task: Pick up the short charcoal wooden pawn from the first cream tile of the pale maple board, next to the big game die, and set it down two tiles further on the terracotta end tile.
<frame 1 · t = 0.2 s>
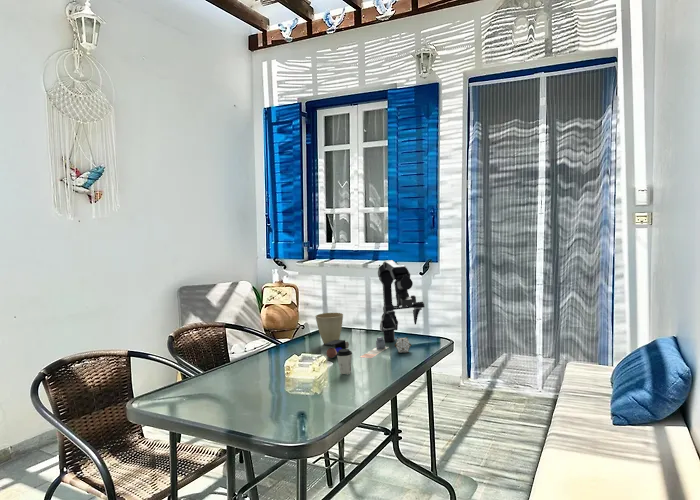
hand: (405, 325, 232), 15 cm above the table, tool pointing down, fingers open, 9 cm apart
figurine character: (337, 355, 248), on the table
coffee cup: (345, 373, 217), on the table
pawn: (380, 348, 252), resting on board
board: (374, 352, 246), on the table
game die: (403, 353, 242), on the table
plant pot: (331, 344, 270), on the table
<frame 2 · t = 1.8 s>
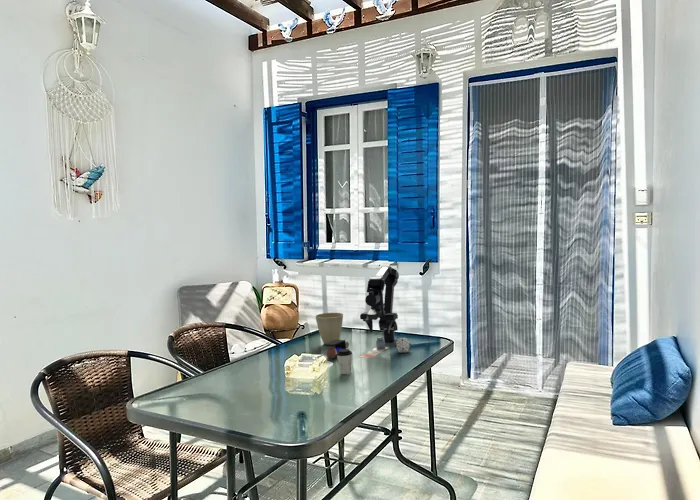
hand: (379, 333, 252), 8 cm above the table, tool pointing down, fingers open, 9 cm apart
nothing on the table moved.
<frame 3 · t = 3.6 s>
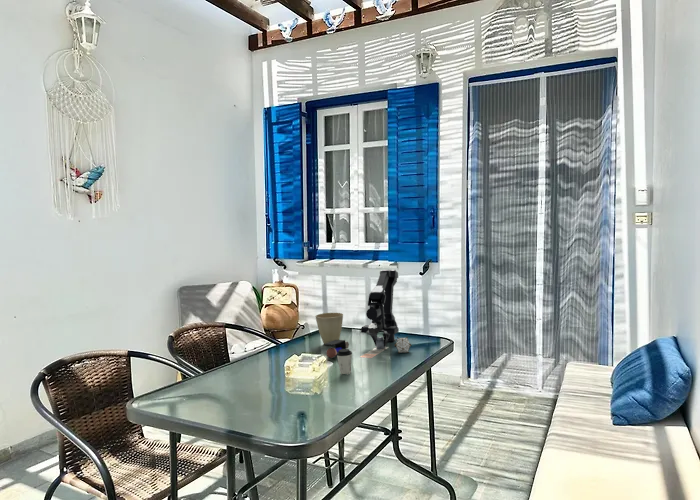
hand: (380, 346, 252), 1 cm above the table, tool pointing down, fingers closed on pawn, 4 cm apart
pawn: (380, 348, 252), resting on board, touching gripper
everything else where it was.
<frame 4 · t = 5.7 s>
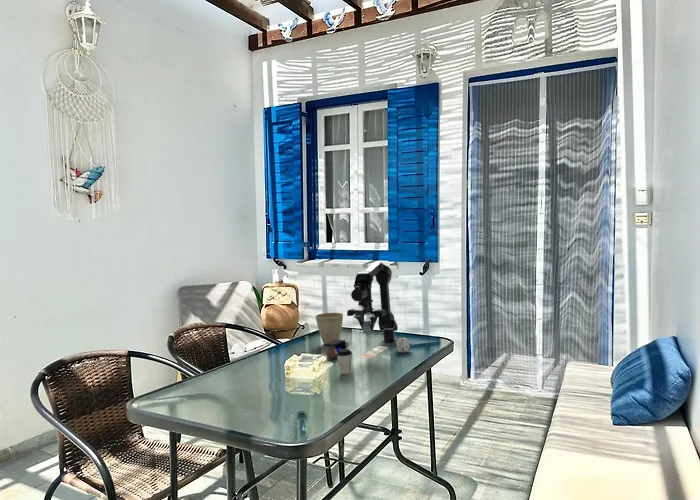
hand: (367, 330, 240), 13 cm above the table, tool pointing down, fingers closed on pawn, 4 cm apart
pawn: (367, 332, 240), point 12 cm above the table, touching gripper
everything else where it was.
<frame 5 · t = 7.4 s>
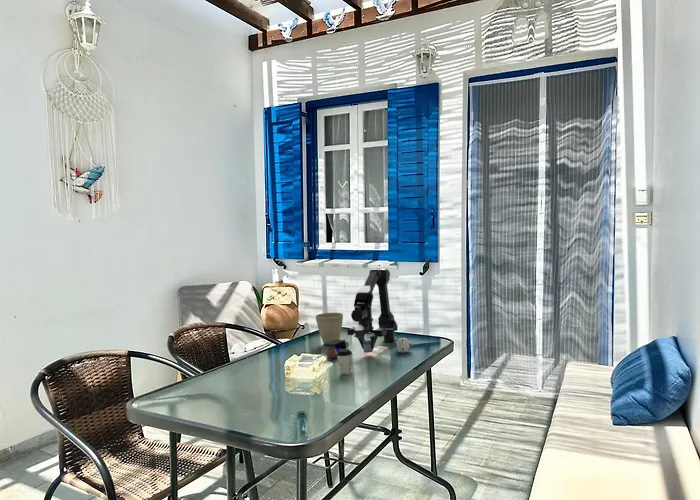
hand: (368, 349, 240), 3 cm above the table, tool pointing down, fingers closed on pawn, 4 cm apart
pawn: (368, 351, 240), point 3 cm above the table, touching gripper
everything else where it was.
when the fingers open (3 cm above the table, at t = 8.3 s): pawn drops 2 cm, resting on board.
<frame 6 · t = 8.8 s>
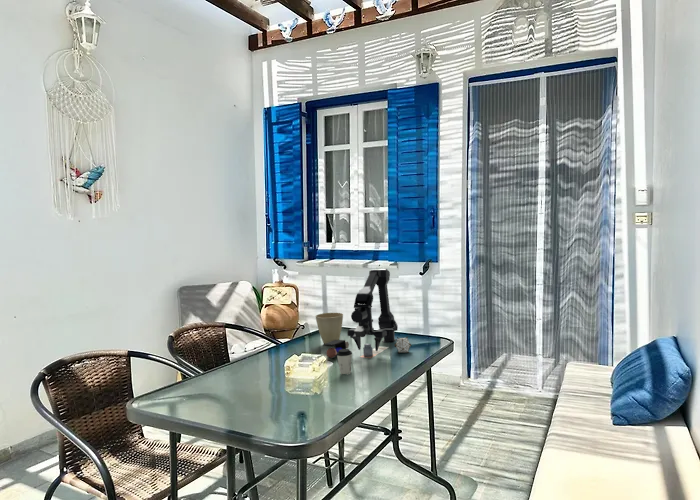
hand: (368, 350, 240), 3 cm above the table, tool pointing down, fingers open, 9 cm apart
pawn: (368, 355, 240), resting on board
everything else where it was.
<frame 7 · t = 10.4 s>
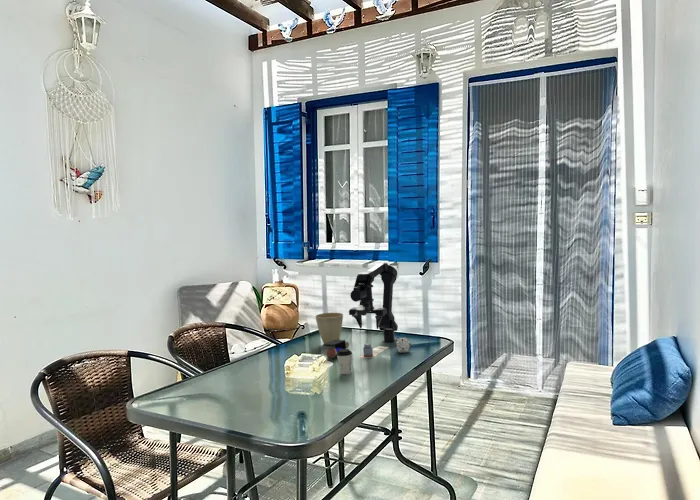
hand: (369, 328, 249), 11 cm above the table, tool pointing down, fingers open, 9 cm apart
nothing on the table moved.
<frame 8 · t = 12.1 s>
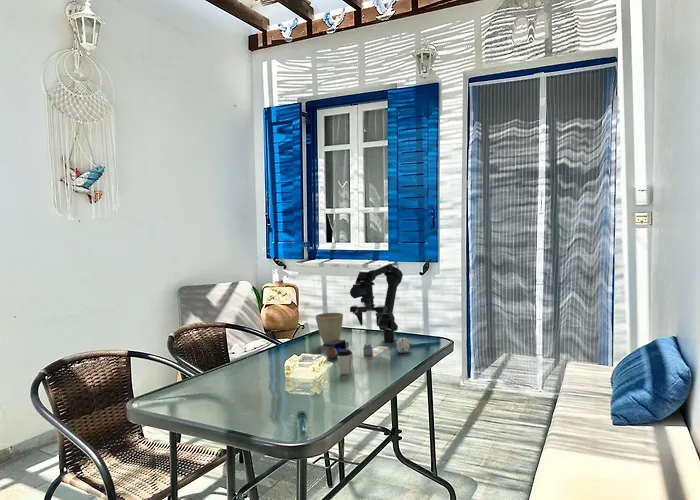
hand: (369, 325, 253), 12 cm above the table, tool pointing down, fingers open, 9 cm apart
nothing on the table moved.
at the end: pawn 0.0 cm from the target spot on the board, point 0.4 cm above the board's base; pawn tilted 0° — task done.
